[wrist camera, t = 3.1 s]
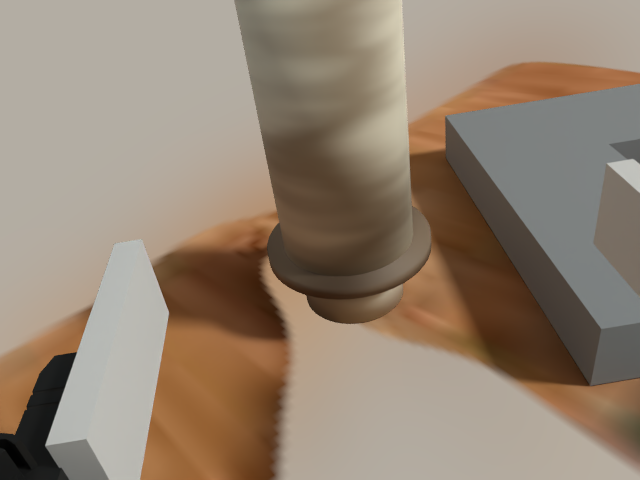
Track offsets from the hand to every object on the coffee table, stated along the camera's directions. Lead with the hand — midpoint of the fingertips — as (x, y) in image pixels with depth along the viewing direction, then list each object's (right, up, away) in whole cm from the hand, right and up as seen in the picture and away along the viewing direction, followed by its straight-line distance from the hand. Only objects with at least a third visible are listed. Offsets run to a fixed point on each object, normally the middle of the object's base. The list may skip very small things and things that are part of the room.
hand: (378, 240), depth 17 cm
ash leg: (0, -2, +12) cm, 13 cm away
